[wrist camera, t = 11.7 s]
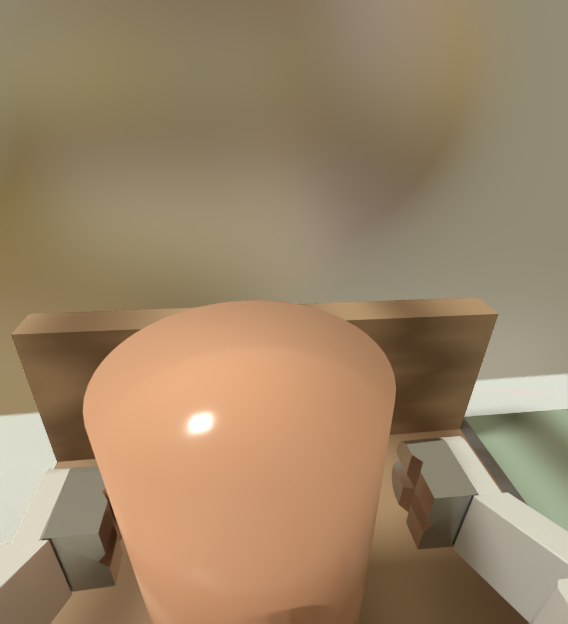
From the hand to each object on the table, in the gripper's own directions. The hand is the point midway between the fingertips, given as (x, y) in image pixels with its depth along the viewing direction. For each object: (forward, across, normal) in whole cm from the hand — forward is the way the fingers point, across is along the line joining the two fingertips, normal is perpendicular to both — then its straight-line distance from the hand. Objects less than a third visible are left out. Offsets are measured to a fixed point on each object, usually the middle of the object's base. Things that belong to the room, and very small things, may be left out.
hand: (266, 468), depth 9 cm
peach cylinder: (-1, 0, +7) cm, 7 cm away
